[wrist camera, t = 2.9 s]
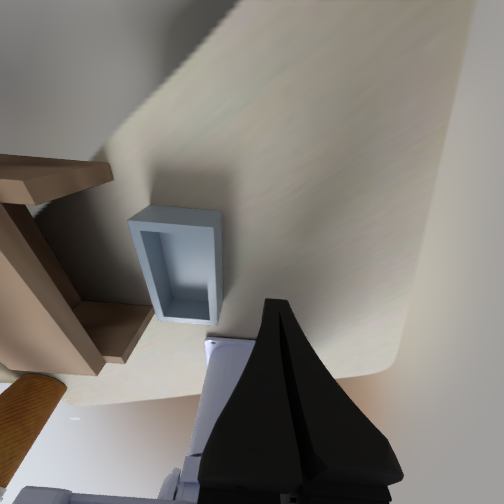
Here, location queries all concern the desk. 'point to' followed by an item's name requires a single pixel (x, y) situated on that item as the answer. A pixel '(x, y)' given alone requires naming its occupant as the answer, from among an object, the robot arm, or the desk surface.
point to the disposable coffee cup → (24, 419)
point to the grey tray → (181, 261)
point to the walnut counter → (53, 280)
